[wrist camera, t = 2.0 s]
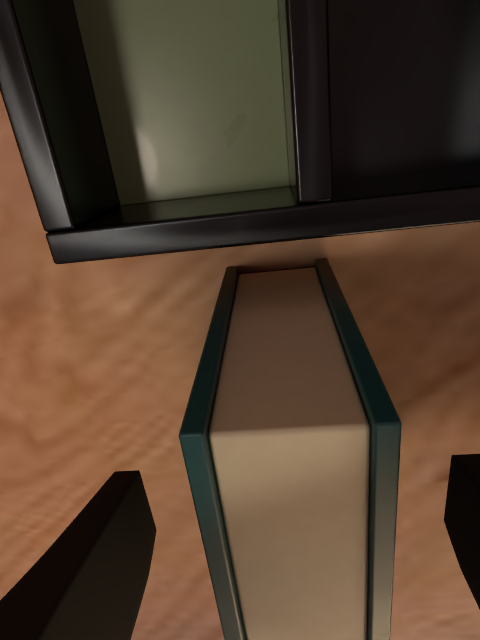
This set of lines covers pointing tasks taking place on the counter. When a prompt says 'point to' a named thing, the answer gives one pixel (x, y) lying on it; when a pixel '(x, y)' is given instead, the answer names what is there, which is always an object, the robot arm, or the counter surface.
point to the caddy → (241, 119)
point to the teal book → (293, 462)
